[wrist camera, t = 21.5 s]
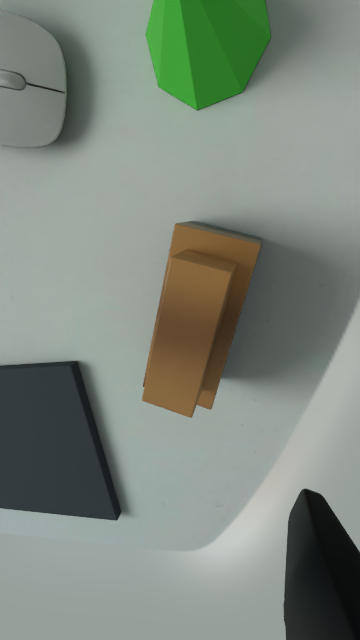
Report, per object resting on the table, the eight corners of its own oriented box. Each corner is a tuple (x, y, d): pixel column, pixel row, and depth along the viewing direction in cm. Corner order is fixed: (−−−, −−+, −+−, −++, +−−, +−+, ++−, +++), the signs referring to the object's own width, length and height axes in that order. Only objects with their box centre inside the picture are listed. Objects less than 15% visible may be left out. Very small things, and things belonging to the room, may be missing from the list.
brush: (220, 378, 20) (202, 440, 15) (161, 359, 21) (123, 412, 16) (262, 238, 17) (259, 251, 12) (191, 220, 18) (157, 225, 12)
